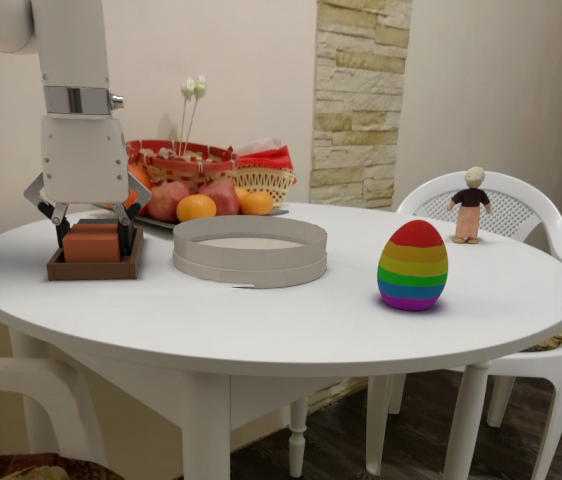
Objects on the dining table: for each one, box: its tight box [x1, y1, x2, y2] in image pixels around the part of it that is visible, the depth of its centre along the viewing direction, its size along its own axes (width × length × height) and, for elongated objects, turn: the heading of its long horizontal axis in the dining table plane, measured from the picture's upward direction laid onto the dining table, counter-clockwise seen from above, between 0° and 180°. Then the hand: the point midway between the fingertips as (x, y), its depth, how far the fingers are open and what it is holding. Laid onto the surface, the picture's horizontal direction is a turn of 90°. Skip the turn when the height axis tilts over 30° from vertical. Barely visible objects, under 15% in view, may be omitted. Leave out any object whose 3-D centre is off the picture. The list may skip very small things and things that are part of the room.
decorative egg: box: [376, 219, 449, 312], centre depth 64 cm, size 8×8×10 cm
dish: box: [172, 214, 328, 289], centre depth 78 cm, size 22×22×5 cm
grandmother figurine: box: [446, 166, 493, 245], centre depth 95 cm, size 8×4×13 cm, turn 97°
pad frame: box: [45, 226, 145, 282], centre depth 78 cm, size 11×22×3 cm, turn 10°
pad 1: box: [62, 223, 121, 263], centre depth 73 cm, size 6×9×4 cm
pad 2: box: [76, 218, 135, 256], centre depth 82 cm, size 8×9×4 cm
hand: (96, 252), depth 73 cm, fingers closed on pad 1, 6 cm apart
